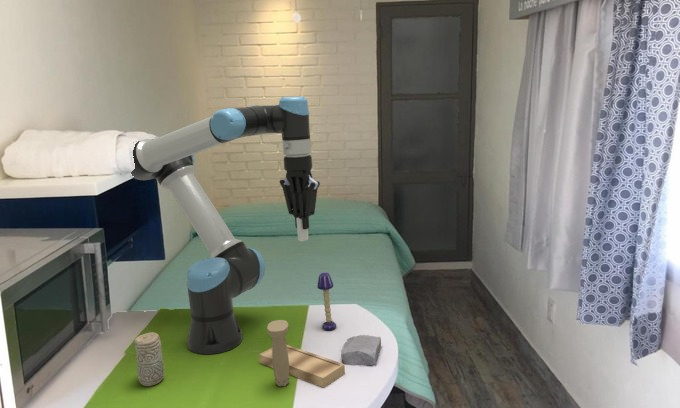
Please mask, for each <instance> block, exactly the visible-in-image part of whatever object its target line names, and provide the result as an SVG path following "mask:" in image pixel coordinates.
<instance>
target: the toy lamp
mask: <svg viewBox="0 0 680 408" xmlns="http://www.w3.org/2000/svg"><path fill="white" fill-rule="evenodd" d="M318 275H319V276H318V279H317V285H316V286H317V289H318V290H321V291H322V292H323V293H322V296H323V305H324V312H325V313H324V314H325V321H324V323H322V327H321V329H322V330H323V331H326V332H328V331H329V332H330V331H335V330H336V329H337V324H336V322H334V321H333V319H332V312H331V311H332V310H331V309H332V308H331V303H330V293H329V291H330V290H331V289H333V287H334V282H333V280H332V277H331V274H330V273H329V272H322V273H319V274H318Z"/></svg>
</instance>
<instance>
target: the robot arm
mask: <svg viewBox="0 0 680 408" xmlns="http://www.w3.org/2000/svg"><path fill="white" fill-rule="evenodd" d="M310 130H311V129H310V111H309V104H308V98H306V97H305V96H302V95H301V96H285V97H280V98H279V103H278V104H276V105H273V104H272V105H256V104H255V105H250V106H245V107H244V106H243V107H233V108H232V107H227V108H223V109H219V110H217V111H215V112H214V114H213V115H212V116H209V117H207V118H204V119H201V120H199V121H196V122H194V123H192V124H188V125H186V126H184V127H181V128H179V129H177V130H174V131H171V132H169V133H167V134H163V135H161V136H158V137H157V138H144V139H141V140H137V141H138V142H137V141H136V142H137V143H136V144H135V147H134V150H133V156H134V157H133V158H134V163H135V169H134V170H133V171H132V172H131V174H132V176H134V177H132V178H133V179H135V180H139V181H148V180H149V181H150V180H153V179H154V180H155V179H156V181H157V182H158V183H159V186H160V187H161V188H162V189H167V190H169V192H170V193H171V194H172V197H173V198H174V199H175V202H177V204H178V206H179V207H180V208H181V210H182V211H183V214H184V215H185V216H186V218H187V219H188V222H189V223H190V224H191V225H192V227H193V229H194V231H195V232H196V234H197V235H198V238H199V239H200V240H201V241H202V243H203V245H204V247H205V248H206V249H207V251H208V252H209V254H210V256H209V257H208V258H207V259H200V260H199V261H196V262H195V263H193V264H192V265H190V266H189V268H188V269H187V272H186V279H187V280H186V287H187V292H188V294H187V295H188V302H189V309H190V319H191V320H190V321H191V322H190V326H189V331H188V336H187V347H188V350H189V351H190V352H192V353H195V354H198V355H213V354H214V355H215V354H220V353H224V352H228V351H230V350H233V349H234V348H237V346H239V345H240V344H241V343H242V341H243V331H242V329H241V327H240V325H239V322H238V320H237V319H236V316H235V313H234V305H233V304H234V302H233V299H235V298H237V297H238V296H241V295H242V294H244V293H245V292H247V291H250V290H251V289H253V288H255V287H256V286H257V285H258V284H259V283H261V281H263V278H264V276H265V270H266V265H265V261H264V258H263V256H262V254H261V253H260V252H259V251H258V250H257V249H253V248H252V247H247V246H246V244H245V243H244V241H243V240H240V239H238V238H235V237H234V234H233V233H232V232H231V230H230V228H229V227H228V225H227V224H226V222H225V221H224V219H223V218H222V216H221V214H220V213H219V212H218V210H217V209H216V207H215V206H214V204H213V203H212V201H211V199H210V197H208V194H207V193H206V191H205V189H204V188H203V187H202V185H201V184H200V182H199V181H198V179H197V178H196V176H195V174H194V173H195V171H196V167H195V165H194V164H195V158H194V155H196V154H198V153H200V152H203V151H206V150H208V149H211V148H215V147H217V146H219V145H222V144H225V143H228V142H229V143H230V142H232V141H235V140H236V139H237V140H238V139H241V138H245V137H252V136H257V135H265V134H281V139H282V141H281V142H282V150H283V151H282V152H283V155H284V156H283V169H284V170H285V171H286V173H285V178H283V179H280V180H279V185H280V186H281V188H282V191H283V196H284V199H285V203H286V206H287V212H288V215H292V216H293V217H294V221H295V223H294V224H295V225H294V226H295V228H296V230H297V232H296V233H297V241H298V242H305V241H308V240H309V230H308V229H310V221H309V220H310V219H309V218H310V217H311V216H314V215H315V212H316V203H317V195H318V189H319V187H320V184H321V183H320V181H319V180H317V181H315V179H314V178H313V174H312V172H311V171H312V168H313V159H312V158H313V157H312V155H311V153H312V142H311V133H310Z"/></svg>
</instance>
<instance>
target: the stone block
mask: <svg viewBox="0 0 680 408" xmlns="http://www.w3.org/2000/svg"><path fill="white" fill-rule="evenodd" d="M381 339H382V337H381V336H373V335H369V334H359V335H354V336H352V337H349V338H347V339H346V341H345V342H344V343H343V345H342V349H340V359H341V361H342V364H344V365H347V366H366V367H367V366H371V367H372V366H373V367H374V366H376V364H377V361H378V357H379V354H380V351H381V348H382V340H381Z"/></svg>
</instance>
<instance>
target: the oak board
mask: <svg viewBox="0 0 680 408" xmlns="http://www.w3.org/2000/svg"><path fill="white" fill-rule="evenodd" d="M287 351H288V358H289V376H293V377H295V378H298V379H300V380H303V381H306V382H308V383H311V384H313V385H316V386H318V387H320V388H326V387H327V386H329V385H330V384H332V383H333V382H335V381H336V380H337V379H339V378H341V377H342V376H344V375H345V374H346V373H345V372H346V371H345V370H346V369H345V364H344V363H343V362H340V361H335V360H333V359H330V358H327V357H324V356H321V355H318V354H315V353H313V352H310V351H307V350H303V349H301V348H297V347H295V346H291V345H289V344H287ZM258 357H259V358H258V359H259V364H261V365H264V366H265V367H269V368H272V369H273V361H272V347H270V348H268V349H266V350H265V351H262V352H261V353H259V354H258Z"/></svg>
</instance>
